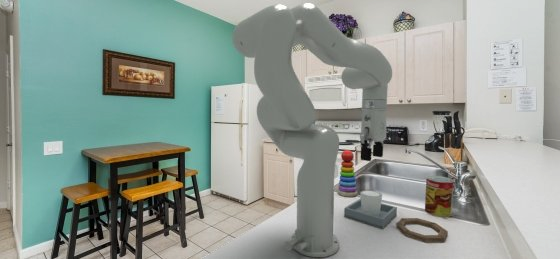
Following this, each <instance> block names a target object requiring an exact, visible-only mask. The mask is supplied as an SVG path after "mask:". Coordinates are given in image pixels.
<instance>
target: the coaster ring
mask: <svg viewBox="0 0 560 259" xmlns="http://www.w3.org/2000/svg"><path fill="white" fill-rule="evenodd" d="M406 225H420V226H424V227H427V228H431V229H432V230H434V231H435V232H437V233H438V234H423V233H422V234H421V233H419V232H415V231H412V230H410V229H408V228H407V226H406ZM395 228H396V229H397V230H398V231H399V232H400V233H401V234H403V235H404V236H405V237H408V238H411V239H413V240H416V241H420V242H424V243H426V244H428V243H430V244H431V243H445V241H446V239H447V237H448V234H449V233H448V232H449V231H448V230H447V229H445V228H444V227H442V226H441V225H439V224H438V223H436V222H432V221H429V220H426V219H421V218H418V217H410V218H409V217H406V218H404V217H401V218H400V219H399V220H398V222H396V224H395Z"/></svg>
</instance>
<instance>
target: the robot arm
mask: <svg viewBox="0 0 560 259" xmlns="http://www.w3.org/2000/svg"><path fill="white" fill-rule="evenodd" d="M231 40H232V44H233V47H234V48H235V50H236V51H237V52H238V53H239V54H240V55H241V56H243V57H245V58H248V59H249V58H250V59H253V58H254V60H253V72H254V73H253V74H254V79H255V83H256V85H257V88H258V89H259V91H260V92H261V94H262V95H263V96H261V98H260V99H259V101H258V103H257V105H256V116H257V119H258V120H257V121H258V122H259V124H260V126H261V127H262V129H263V130H264V131H265V133H266V134H267V136H268V137H269V138H270V139H271V141H272V142H273V143H274V145H275V146H276V147H277V149H279V151H280V152H281V153H283V154H284V155H286V156H288V157H293V158H296V159H301V160H303V163H302V165H301V166H300V169H299V170H298V173H297V177H296V229H295V230H294V232H293V234H292V235H291V236H290V239H289V240H287V241H286V242H285V248H286V249H287V250H288V251H291V250H292V249H293V250H295V251H296V252H297V253H298V254H301V255H303V256H307V257H312V258H325V257H329V256H332V255H334V254H335V253H336V252H338V250H339V248H340V241H339V239H338V237H337V236H336V235H335V234H334V209H335V208H334V207H335V204H334V203H335V172H336V164H337V159H338V154H339V149H340V138H339V135H338V133H337V132H336V130H335V129H333V128H332V127H330V126H327V125H324V124H318V123H315V121H316V118H317V116H316V114H317V113H316V109H315V106H314V103H313V102H312V100H311V98H310V97H309V95H308V93H307V91H306V90H305V88H304V86H303V85H302V83H301V82H300V79H299V78H298V76H297V74H296V72H295V70H294V67H293V60H292V56H293V55H292V53H293V48H294V47H295V46H299V45H301V46H303V47H305V49H307V50H308V51H309V52H310V53H311V54H313V55H314V56H315V57H316V58H317V59H319V61H321V63H323V64H325V65H328V66H332V67H333V66H334V67H337V68H339V67H340V68H344V69H343V70H342V72H341V75H340V76H341V82H342V84H343V86H345V87H346V88H348V89H351V90H359V89H360V90H361V89H362V91H361V92H362V93H361V94H362V95H361V98H362V99H361V111H362V116H361V125H360V133H359V139H360V140H359V143H360V160H361V161H365V162H371V161H372V156H373V157H375V158H376V157H377V158H383V157H384V156H383V155H384V144H385V143H384V141H386V139H387V115H386V114H387V113H386V111H387V107H388V84H389V83H390V82H391V80H392V77H393V69H392V65H391V63H390V61H389V60H388V58H386V56H385V55H384V54H383V53H382V51H380V50H379V49H378V48H377V47H374V46H373V45H370V44H368V43H366V42H363V41H361V40H357V39H355V38H350V37H347V36H346V35H345V34H344V33H343V32H342V31H341V30H340V29H339V28H338V27H337V26H336V25H335V23H333V22H332V20H331V19H329V17H327V15H326V14H325V13H324V12H323V11H322V10H321V8H319V6H317V5H315V4H314V3H310V2H307V3H306V2H305V3H302V4H299V5H296V6H294V7H292V8H289V7H288V6H286V5H283V4H273V5H269V6H267V7H265V8H263V9H261V10H259V11H258V12H255V13H254V14H252V15H251V16H248V17H247V18H245V19H243V20H241V21H239V23H237V25H235V27H234V29H233V31H232V38H231ZM372 144H373V146H372ZM371 146H372V147H371Z"/></svg>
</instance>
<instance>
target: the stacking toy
mask: <svg viewBox="0 0 560 259" xmlns="http://www.w3.org/2000/svg"><path fill="white" fill-rule="evenodd" d="M340 157H341V160H342V161H341V164H340V165H341V167H340V171H339V174H340V175H339V181H338V190H337V193H338V194H339V195H340V196H343V197H347V198H349V197H350V198H351V197H352V198H353V197H356V196H357V195H358V191H357V189H358V187H357V180H356V179H357V178H356V176H355V174H356V173H355V167H354V164H355V163H354V162H353V160H354V158H355V156H354V153H353V151H351V150H349V149H345V150H343V151H342V152H341V154H340Z"/></svg>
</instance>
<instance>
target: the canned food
mask: <svg viewBox="0 0 560 259" xmlns="http://www.w3.org/2000/svg"><path fill="white" fill-rule="evenodd" d="M425 178H426V180H425V203H424V211H425V213H426V214H428V215H431V216H434V217H438V218H451V217H452V216H453V198H454V182H455V181H454V179H452V178H450V177H446V176H441V175H440V176H439V175H428V176H426V177H425ZM450 216H451V217H450Z"/></svg>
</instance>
